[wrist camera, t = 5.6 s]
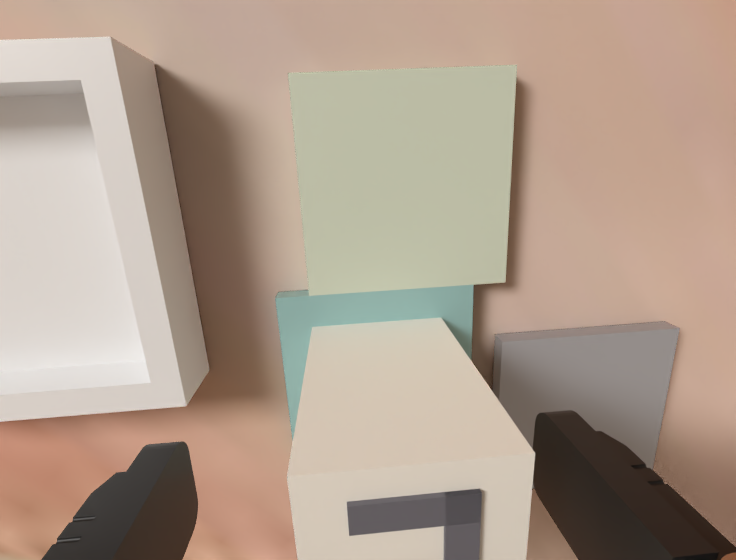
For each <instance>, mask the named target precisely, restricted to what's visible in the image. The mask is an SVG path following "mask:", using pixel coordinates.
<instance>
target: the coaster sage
mask: <svg viewBox="0 0 736 560" xmlns="http://www.w3.org/2000/svg"><path fill="white" fill-rule="evenodd" d="M516 74H517V65H495V66H467V67H439V68H411V69H383V70H355V71H327V72H299V73H288V80H289V90H290V101H291V111H292V121H293V132H294V142H295V153H296V163H297V174H298V184H299V195H300V205H301V216H302V226H303V237H304V247H305V258H306V268H307V278H308V289H309V296H315V295H329V294H344V293H358V292H373V291H388V290H402V289H417V288H431V287H446V286H461V285H475V284H490V283H504V282H506V263H507V244H508V225H509V206H510V188H511V169H512V150H513V131H514V112H515V93H516Z"/></svg>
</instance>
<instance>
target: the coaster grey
mask: <svg viewBox="0 0 736 560" xmlns="http://www.w3.org/2000/svg"><path fill="white" fill-rule="evenodd" d="M679 329H680V328H678V327H676V326H674V325H672V324H669V323H667V322H665V321H664V322H651V323H637V324H624V325H611V326H598V327H585V328H572V329H559V330H546V331H533V332H519V333H506V334H495V346H494V368H493V389H492V391H493V393H494V394H495V396H496V397H497V399H498V400H499V402H500V403H501V404H502V406H503V407H504V409H505V410H506V412H507V413H508V415H509V416H510V417H511V419H512V420H513V422H514V423H515V425H516V426H517V428H518V429H519V430H520V432H521V433H522V435H523V436H524V438H525V439H526V441H527V442H528V443H529V445H530V446H531V448H532V449H533V438H534V428H535V420H536V416H537V415H538V414H539V413H542V412H554V411H565V410H573V411H575V412H576V413H578V414H579V415H580V416H581V417H582V418H583V419H584V420H585V421H586V422H587V423H588V424H589V425H590V426H591V427H592V428H593V429H594V430H595V431H602V432H604V433H605V434H607V435H609V436H611V437H612V438H614V439H616V440H617V441H619V442H621V443H623V444H624V445H626V446H627V447H628V448H629V449H630V450H631V451H632V452H634V453H635V454H636V455H637V456H638V457H639V458H640V459H641V460H642V461H643V462H644V463H645V464H646V467H647V468H651V469H652V470H653V466H654V460H655V455H656V450H657V445H658V439H659V434H660V429H661V424H662V418H663V413H664V408H665V403H666V397H667V392H668V387H669V382H670V376H671V371H672V366H673V361H674V355H675V350H676V345H677V340H678V334H679ZM532 489H534V485H532Z"/></svg>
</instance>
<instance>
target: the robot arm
mask: <svg viewBox="0 0 736 560" xmlns="http://www.w3.org/2000/svg"><path fill="white" fill-rule="evenodd" d="M533 451H534V452H535V462H534V474H533V485H534V488H535V490H536V493H537V495H538V497H539V498H540V500H541V501H542V503H543V505H544V506H545V508H546V509H547V511H548V512H549V514H550V516H551V517H552V519H553V520H554V522H555V524H556V525H557V527H558V528H559V530H560V531H561V533H562V535H563V536H564V538H565V539H566V541H567V542H568V544H569V546H570V547H571V549H572V550H573V552H574V553H575V555H576V557H577V558H578V560H736V547H735V546H734V545H733V544H731V543H730V542H729V541H728V540H727V539H726V538H725V537H724V536H723V535H722V534H721V533H720V532H719V531H718V530H716V529H715V528H714V527H713V526H712V525H711V524H710V523H709V522H708V521H707V520H706V519H705V518H704V517H702V516H701V515H700V514H699V513H698V512H697V511H696V510H695V509H694V508H693V507H692V506H691V505H690V504H688V503H687V502H686V501H685V500H684V499H683V498H682V497H681V496H680V495H679V494H678V493H677V492H676V491H674V490H673V489H672V488H671V487H670V486H669V485H668V484H664V482H663V479H662V478H660V477H659V476H658V475H657V474H656V473H655V472H654V471H653V470H652V469H651V468H647V467H646V464H645V463H644V462H643V461H642V460H641V459H640V458H639V457H638V456H637V455H636V454H635V453H634V452H632V451H631V450H630V449H629V448H628V447H627V446H626V445H624V444H623V443H621V442H619V441H617V440H616V439H614V438H612V437H611V436H609V435H607V434H605V433H604V432H602V431H595V430H594V429H593V428H592V427H591V426H590V425H589V424H588V423H587V422H586V421H585V420H584V419H583V418H582V417H581V416H580V415H579V414H578V413H576V412H575V411H573V410H565V411H554V412H542V413H539V414H538V415H537V416H536V420H535V428H534V438H533ZM197 512H198V498H197V492H196V487H195V481H194V476H193V471H192V465H191V460H190V455H189V450H188V446H187V444H186V443H185V442H172V443H160V444H149V445H146V446H145V447H143V449H142V450H141V451H140V453H139V454H138V456H137V457H136V459H135V460H134V461H133V463H132V464H131V466H130V467H129V469H128V470H127V472H118V473H116V474H115V475H113V476H112V477H111V478H110V479H108V480H107V481H106V482H105V483H104V484H102V485H101V486H100V487H99V488H97V489H96V490H95V491H94V492H93V493H91V495H90V496H89V497H88V499H87V500H86V501H85V503H84V504H83V505H82V507H81V508H80V509H79V511H78V512H77V513H76V515H75V516H74V517H73V522H71V523H69V524H68V525H67V526H66V528H65V529H64V530H63V532H62V533H61V534H60V536H59V537H58V538H57V543H56V544H53V545H52V546H51V548H50V549H49V550H48V552H47V553H46V554H45V556H44V557H43V558H42V560H182V559H183V557H184V554H185V552H186V549H187V546H188V544H189V541H190V539H191V536H192V534H193V531H194V528H195V524H196V519H197Z"/></svg>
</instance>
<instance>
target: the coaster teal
mask: <svg viewBox="0 0 736 560" xmlns="http://www.w3.org/2000/svg"><path fill="white" fill-rule="evenodd" d="M473 286H474V285H461V286H446V287H431V288H417V289H402V290H388V291H373V292H358V293H344V294H329V295H315V296H309V290H301V291H286V292H278V294H277V296H276V298H275V300H276V308H277V316H278V324H279V333H280V341H281V349H282V357H283V366H284V374H285V382H286V390H287V399H288V407H289V415H290V423H291V431H292V440H293V437H294V432H295V426H296V420H297V414H298V408H299V402H300V396H301V390H302V384H303V378H304V372H305V366H306V360H307V354H308V348H309V343H310V337H311V331H312V327H318V326H331V325H345V324H359V323H372V322H386V321H400V320H413V319H427V318H442V319H443V321H444V322H445V324H446V325H447V327H448V328H449V330H450V331H451V332H452V334H453V335H454V337H455V338H456V340H457V341H458V342H459V344H460V345H461V347H462V348H463V350H464V351H465V353H466V354H467V355H468V357H469V358H470V360H471V355H472V321H473Z"/></svg>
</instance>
